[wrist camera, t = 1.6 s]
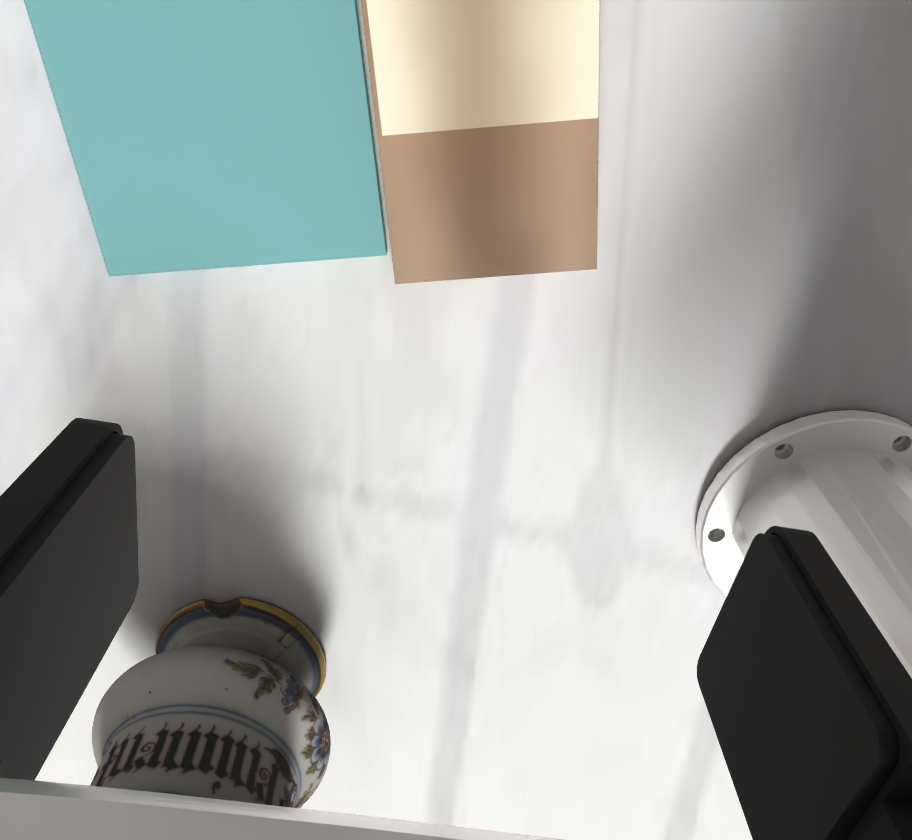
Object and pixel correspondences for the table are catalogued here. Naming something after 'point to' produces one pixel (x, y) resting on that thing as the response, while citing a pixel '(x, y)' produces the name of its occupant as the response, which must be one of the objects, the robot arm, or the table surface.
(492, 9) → the birch tile
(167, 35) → the teal mat
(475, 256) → the board
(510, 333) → the table surface
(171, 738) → the apothecary jar
